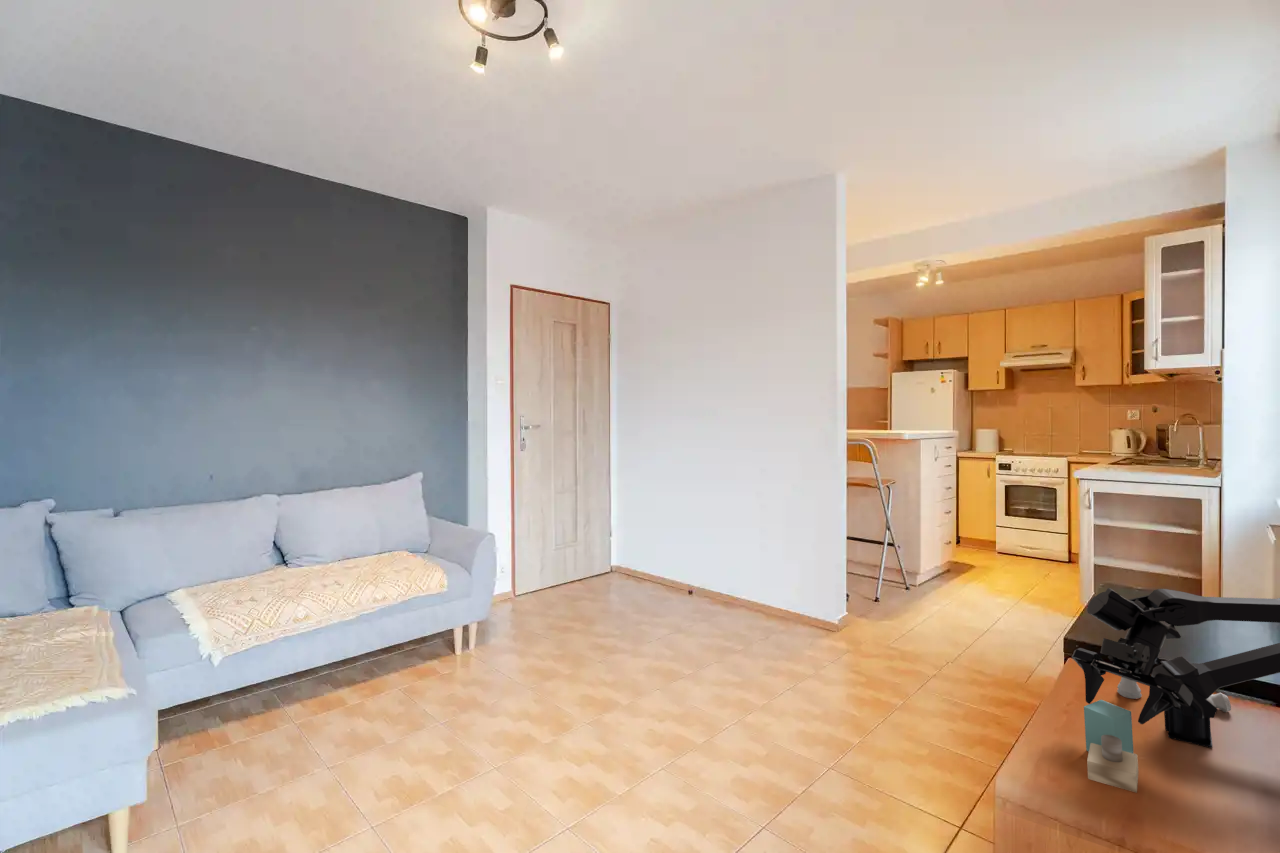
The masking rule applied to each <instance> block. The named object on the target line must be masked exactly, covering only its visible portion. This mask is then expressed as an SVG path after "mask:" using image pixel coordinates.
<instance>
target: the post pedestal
mask: <svg viewBox="0 0 1280 853" xmlns="http://www.w3.org/2000/svg"><path fill="white" fill-rule="evenodd" d="M1101 743H1102V745H1098V744H1094V743H1091V744H1090V749H1089V752H1088V755H1087V759H1086V760H1087V761H1086V762H1087V764H1086V765H1087V766H1086V768H1087V779H1088V780H1091V781H1094V782H1097V783H1100V784H1101V783H1102V784H1105V785H1108V786H1112V787H1115V788H1119V789H1121V790H1126V791H1129V792H1133V793H1136V794H1137V793H1138V784H1139V782H1138V781H1139V761H1138V757H1139V756H1138V753H1137V754H1136V753H1134V752H1133V753H1134V754H1133V753H1130V752H1126V751H1122V741H1121V740H1120V739H1119V738H1117V737H1115V736H1112V735H1102V736H1101Z"/></svg>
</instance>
